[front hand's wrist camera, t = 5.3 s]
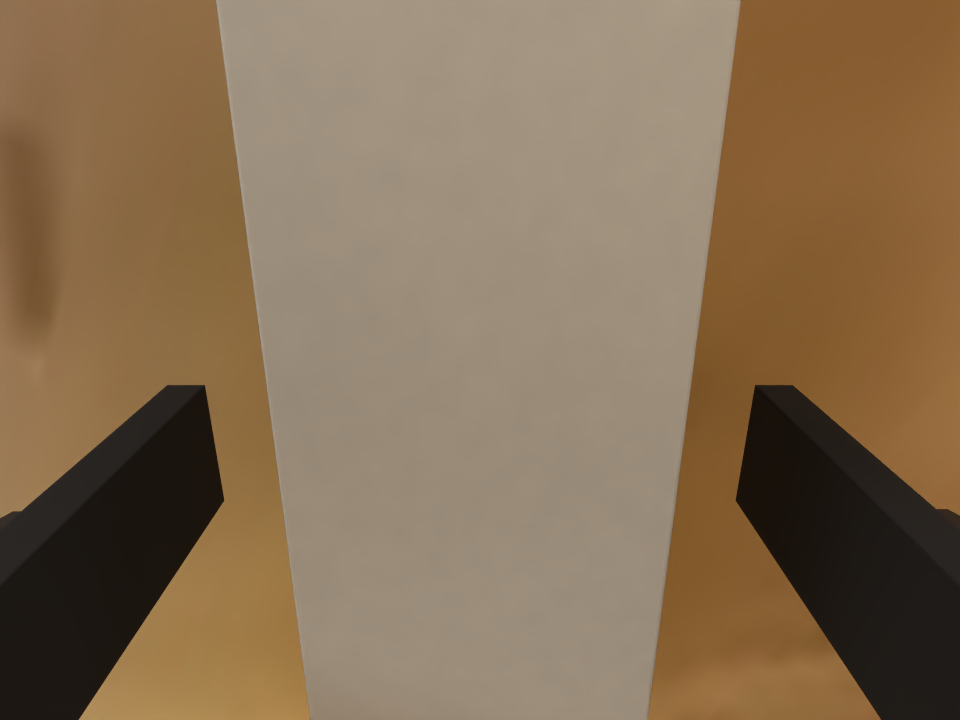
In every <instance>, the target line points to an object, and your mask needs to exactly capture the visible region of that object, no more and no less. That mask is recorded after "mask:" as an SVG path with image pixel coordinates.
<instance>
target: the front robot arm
mask: <svg viewBox="0 0 960 720" xmlns="http://www.w3.org/2000/svg"><path fill="white" fill-rule="evenodd" d="M223 502H224V496H223V490H222V484H221V478H220V473H219V467H218V461H217V455H216V449H215V443H214V437H213V431H212V425H211V419H210V413H209V407H208V401H207V395H206V390H205V385H167V386H166V387H165V388H164V389H163V390H161V391H160V392H159V393H158V394H157V395H156V396H154V397H153V398H152V399H151V400H150V401H149V402H147V403H146V404H145V405H144V406H143V407H142V408H141V409H139V410H138V411H137V412H136V413H135V414H134V415H132V416H131V417H130V418H129V419H128V420H127V421H125V422H124V423H123V424H122V425H121V426H120V427H119V428H117V429H116V430H115V431H114V432H113V433H112V434H110V435H109V436H108V437H107V438H106V439H105V440H103V441H102V442H101V443H100V444H99V445H98V446H97V447H95V448H94V449H93V450H92V451H91V452H90V453H88V454H87V455H86V456H85V457H84V458H83V459H81V460H80V461H79V462H78V463H77V464H76V465H75V466H73V467H72V468H71V469H70V470H69V471H68V472H66V473H65V474H64V475H63V476H62V477H61V478H59V479H58V480H57V481H56V482H55V483H54V484H53V485H51V486H50V487H49V488H48V489H47V490H46V491H44V492H43V493H42V494H41V495H40V496H39V497H37V498H36V499H35V500H34V501H33V502H32V503H31V504H29V505H28V506H27V507H26V508H25V509H24V510H22V511H21V512H11V513H9V514H8V515H6V516H4V517H2V518H0V720H79V718H80V717H81V715H82V714H83V712H84V711H85V709H86V708H87V706H88V705H89V703H90V702H91V700H92V699H93V697H94V696H95V694H96V693H97V691H98V690H99V688H100V687H101V685H102V684H103V682H104V681H105V679H106V678H107V676H108V675H109V673H110V672H111V670H112V669H113V667H114V666H115V664H116V663H117V661H118V660H119V658H120V657H121V655H122V654H123V652H124V651H125V649H126V648H127V646H128V645H129V643H130V642H131V640H132V639H133V637H134V636H135V634H136V633H137V631H138V630H139V628H140V626H141V625H142V623H143V622H144V620H145V619H146V617H147V616H148V614H149V613H150V611H151V610H152V608H153V607H154V605H155V604H156V602H157V601H158V599H159V598H160V596H161V595H162V593H163V592H164V590H165V589H166V587H167V586H168V584H169V583H170V581H171V580H172V578H173V577H174V575H175V574H176V572H177V571H178V569H179V568H180V566H181V565H182V563H183V562H184V560H185V559H186V557H187V556H188V554H189V553H190V551H191V550H192V548H193V547H194V545H195V544H196V542H197V541H198V539H199V538H200V536H201V535H202V533H203V532H204V530H205V529H206V527H207V526H208V524H209V523H210V521H211V520H212V518H213V517H214V515H215V514H216V512H217V511H218V509H219V508H220V506H221V505H222V503H223ZM736 502H737V503H738V505H739V506H740V508H741V509H742V511H743V512H744V514H745V515H746V517H747V518H748V520H749V521H750V523H751V524H752V526H753V527H754V529H755V530H756V532H757V533H758V535H759V536H760V538H761V539H762V541H763V542H764V544H765V545H766V547H767V548H768V550H769V551H770V553H771V554H772V556H773V557H774V559H775V560H776V562H777V563H778V565H779V566H780V568H781V569H782V571H783V572H784V574H785V575H786V577H787V578H788V580H789V581H790V583H791V584H792V586H793V587H794V589H795V590H796V592H797V593H798V595H799V596H800V598H801V599H802V601H803V602H804V604H805V605H806V607H807V608H808V610H809V611H810V613H811V614H812V616H813V617H814V619H815V620H816V622H817V624H818V625H819V627H820V628H821V630H822V631H823V633H824V634H825V636H826V637H827V639H828V640H829V642H830V643H831V645H832V646H833V648H834V649H835V651H836V652H837V654H838V655H839V657H840V658H841V660H842V661H843V663H844V664H845V666H846V667H847V669H848V670H849V672H850V673H851V675H852V676H853V678H854V679H855V681H856V682H857V684H858V685H859V687H860V688H861V690H862V691H863V693H864V694H865V696H866V697H867V699H868V700H869V702H870V703H871V705H872V706H873V708H874V709H875V711H876V712H877V714H878V715H879V717H880V718H881V720H960V516H959V515H957V514H955V513H954V512H952V511H950V510H948V509H935V508H934V507H933V506H932V505H931V504H929V503H928V502H927V501H926V500H925V499H924V498H923V497H921V496H920V495H919V494H918V493H917V492H916V491H914V490H913V489H912V488H911V487H910V486H909V485H907V484H906V483H905V482H904V481H903V480H902V479H901V478H899V477H898V476H897V475H896V474H895V473H894V472H892V471H891V470H890V469H889V468H888V467H887V466H885V465H884V464H883V463H882V462H881V461H880V460H879V459H877V458H876V457H875V456H874V455H873V454H872V453H870V452H869V451H868V450H867V449H866V448H865V447H863V446H862V445H861V444H860V443H859V442H858V441H857V440H855V439H854V438H853V437H852V436H851V435H850V434H848V433H847V432H846V431H845V430H844V429H843V428H841V427H840V426H839V425H838V424H837V423H836V422H835V421H833V420H832V419H831V418H830V417H829V416H828V415H826V414H825V413H824V412H823V411H822V410H821V409H819V408H818V407H817V406H816V405H815V404H814V403H813V402H811V401H810V400H809V399H808V398H807V397H806V396H804V395H803V394H802V393H801V392H800V391H799V390H797V389H796V388H795V387H794V386H793V385H755V389H754V395H753V401H752V407H751V413H750V419H749V425H748V431H747V437H746V443H745V449H744V455H743V461H742V467H741V472H740V478H739V484H738V490H737V496H736Z"/></svg>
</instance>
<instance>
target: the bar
mask: <svg viewBox="0 0 960 720" xmlns="http://www.w3.org/2000/svg"><path fill="white" fill-rule="evenodd" d="M216 4H217V12H218V19H219V27H220V35H221V42H222V50H223V57H224V65H225V73H226V80H227V88H228V95H229V103H230V111H231V118H232V126H233V134H234V141H235V149H236V156H237V164H238V172H239V179H240V187H241V194H242V202H243V210H244V217H245V225H246V232H247V240H248V248H249V255H250V263H251V271H252V278H253V286H254V293H255V301H256V309H257V316H258V324H259V331H260V339H261V347H262V354H263V362H264V370H265V377H266V385H267V392H268V400H269V408H270V415H271V423H272V430H273V438H274V446H275V453H276V461H277V468H278V476H279V484H280V491H281V499H282V507H283V514H284V522H285V529H286V537H287V545H288V552H289V560H290V567H291V575H292V583H293V590H294V598H295V606H296V613H297V621H298V628H299V636H300V644H301V651H302V659H303V666H304V674H305V682H306V689H307V697H308V704H309V712H310V720H648V713H649V705H650V698H651V690H652V682H653V674H654V667H655V659H656V651H657V644H658V636H659V628H660V620H661V613H662V605H663V597H664V590H665V582H666V574H667V567H668V559H669V551H670V543H671V536H672V528H673V520H674V513H675V505H676V497H677V489H678V482H679V474H680V466H681V459H682V451H683V443H684V436H685V428H686V420H687V412H688V405H689V397H690V389H691V382H692V374H693V366H694V358H695V351H696V343H697V335H698V328H699V320H700V312H701V305H702V297H703V289H704V281H705V274H706V266H707V258H708V251H709V243H710V235H711V227H712V220H713V212H714V204H715V197H716V189H717V181H718V174H719V166H720V158H721V150H722V143H723V135H724V127H725V120H726V112H727V104H728V96H729V89H730V81H731V73H732V66H733V58H734V50H735V43H736V35H737V27H738V19H739V12H740V4H741V0H216Z"/></svg>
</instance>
